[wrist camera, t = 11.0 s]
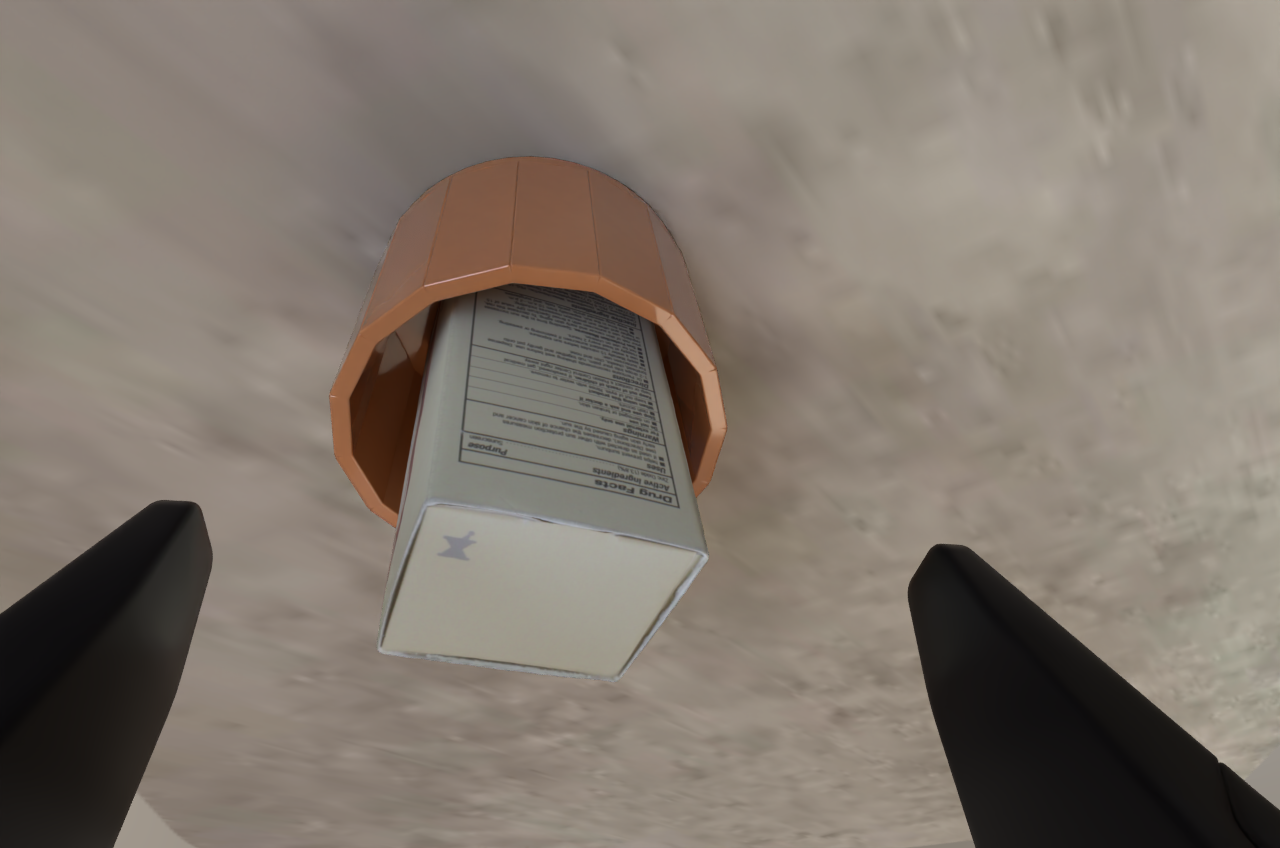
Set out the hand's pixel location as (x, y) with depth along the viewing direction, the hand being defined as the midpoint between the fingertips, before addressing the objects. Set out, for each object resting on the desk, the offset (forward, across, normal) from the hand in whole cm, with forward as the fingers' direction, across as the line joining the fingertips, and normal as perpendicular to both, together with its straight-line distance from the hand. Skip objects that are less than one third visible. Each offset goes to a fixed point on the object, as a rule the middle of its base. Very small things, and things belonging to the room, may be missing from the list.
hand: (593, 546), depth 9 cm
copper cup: (+13, 0, +4) cm, 13 cm away
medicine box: (+12, 0, +4) cm, 13 cm away
